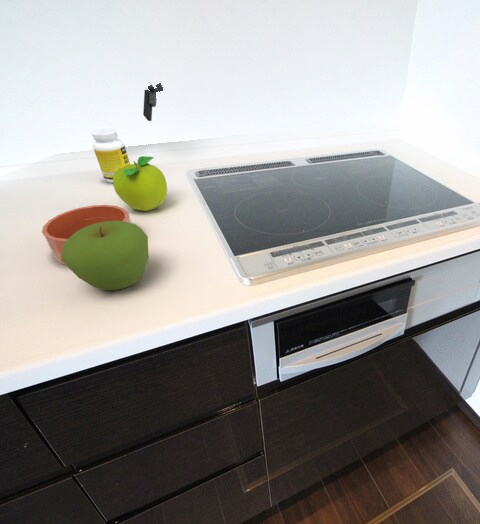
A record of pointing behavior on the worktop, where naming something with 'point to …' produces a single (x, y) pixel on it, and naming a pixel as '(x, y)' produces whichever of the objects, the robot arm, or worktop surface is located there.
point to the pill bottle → (109, 152)
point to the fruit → (140, 185)
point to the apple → (107, 254)
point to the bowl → (78, 224)
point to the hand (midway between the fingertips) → (117, 117)
